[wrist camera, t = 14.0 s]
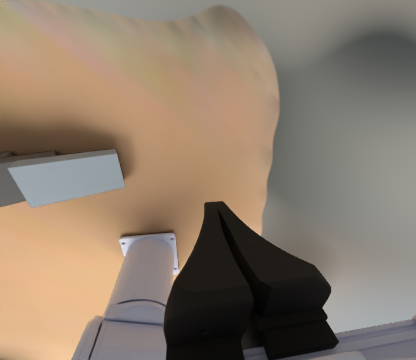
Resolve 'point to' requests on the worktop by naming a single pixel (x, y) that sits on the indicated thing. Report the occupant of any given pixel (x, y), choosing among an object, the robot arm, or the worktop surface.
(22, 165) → the domino
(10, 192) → the domino
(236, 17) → the worktop surface
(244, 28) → the worktop surface
